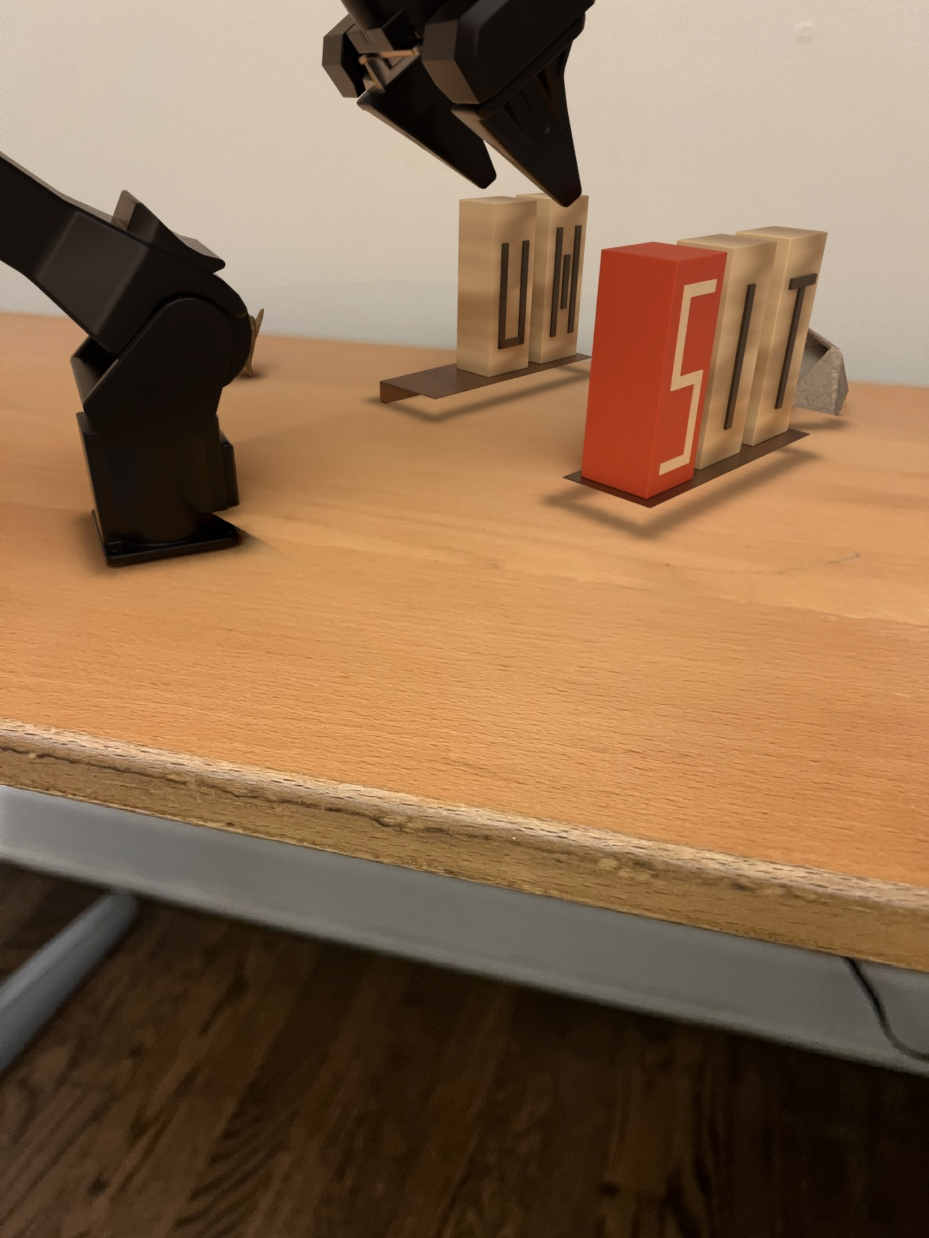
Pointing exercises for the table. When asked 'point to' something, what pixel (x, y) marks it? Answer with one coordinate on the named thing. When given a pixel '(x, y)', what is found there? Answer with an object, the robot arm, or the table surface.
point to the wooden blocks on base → (510, 294)
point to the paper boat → (821, 376)
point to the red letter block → (650, 364)
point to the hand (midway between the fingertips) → (528, 191)
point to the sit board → (750, 351)
